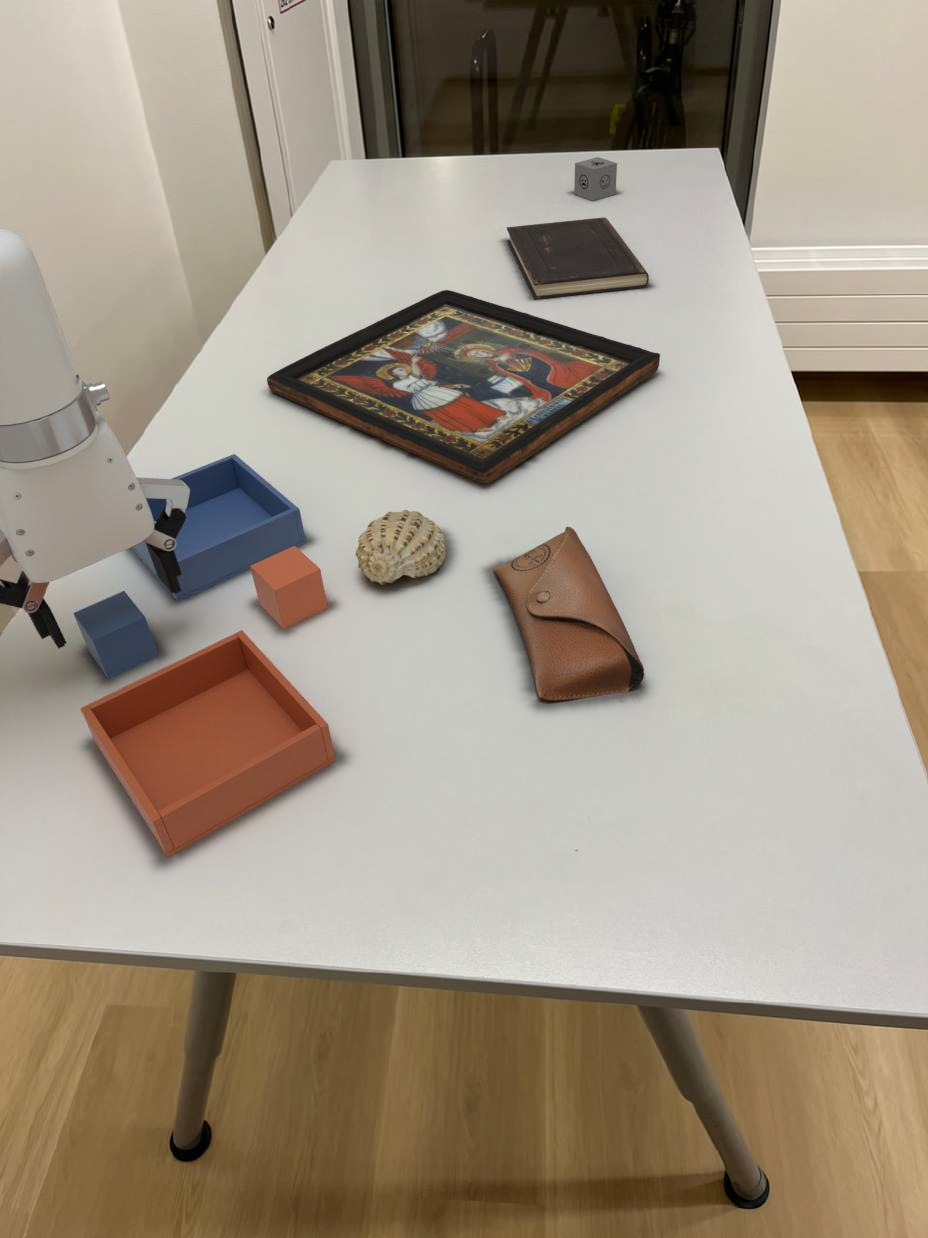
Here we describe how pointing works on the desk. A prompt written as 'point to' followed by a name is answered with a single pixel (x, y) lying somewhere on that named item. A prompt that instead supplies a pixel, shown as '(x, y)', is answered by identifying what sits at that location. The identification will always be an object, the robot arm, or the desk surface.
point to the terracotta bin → (208, 739)
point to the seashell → (400, 547)
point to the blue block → (116, 634)
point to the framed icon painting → (465, 381)
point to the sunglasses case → (569, 622)
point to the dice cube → (595, 178)
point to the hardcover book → (575, 258)
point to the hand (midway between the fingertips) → (115, 611)
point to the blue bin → (227, 524)
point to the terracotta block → (289, 587)
